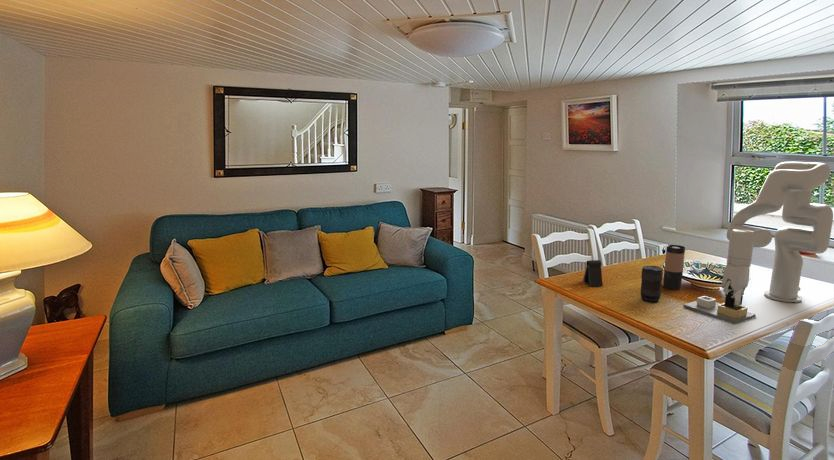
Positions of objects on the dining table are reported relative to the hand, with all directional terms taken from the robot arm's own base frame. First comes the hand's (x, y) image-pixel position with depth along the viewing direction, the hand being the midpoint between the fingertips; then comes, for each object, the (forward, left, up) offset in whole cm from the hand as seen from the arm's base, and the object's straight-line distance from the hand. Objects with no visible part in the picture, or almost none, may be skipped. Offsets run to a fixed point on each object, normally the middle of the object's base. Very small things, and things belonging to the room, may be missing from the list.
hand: (733, 304), depth 173 cm
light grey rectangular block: (0, 0, -3) cm, 3 cm away
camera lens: (+12, -27, -5) cm, 30 cm away
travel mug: (-12, -33, -5) cm, 35 cm away
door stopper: (+16, -55, -5) cm, 58 cm away
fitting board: (0, -5, -5) cm, 7 cm away
